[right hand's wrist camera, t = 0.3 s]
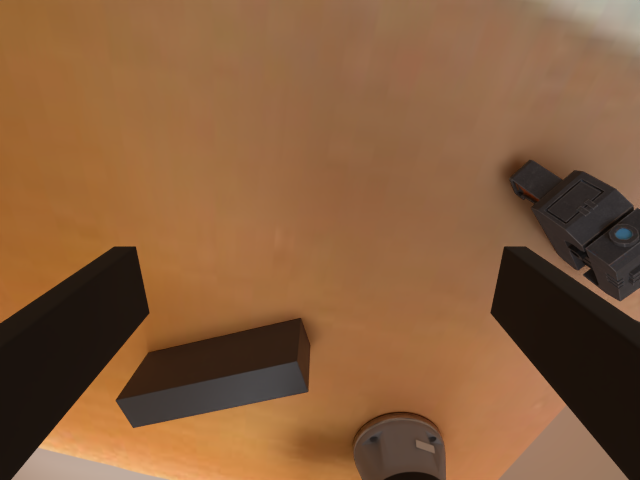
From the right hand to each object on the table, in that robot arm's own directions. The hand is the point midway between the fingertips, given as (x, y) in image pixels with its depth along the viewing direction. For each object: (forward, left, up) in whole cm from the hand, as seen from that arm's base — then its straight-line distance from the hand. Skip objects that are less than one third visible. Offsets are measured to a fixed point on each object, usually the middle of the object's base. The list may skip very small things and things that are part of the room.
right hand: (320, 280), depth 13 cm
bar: (-29, +14, -31) cm, 44 cm away
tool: (-8, -30, -31) cm, 44 cm away
